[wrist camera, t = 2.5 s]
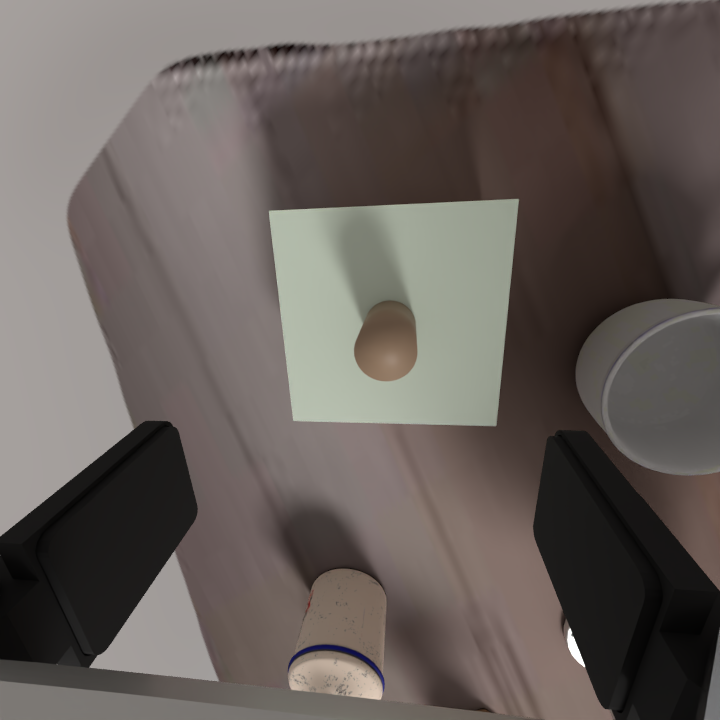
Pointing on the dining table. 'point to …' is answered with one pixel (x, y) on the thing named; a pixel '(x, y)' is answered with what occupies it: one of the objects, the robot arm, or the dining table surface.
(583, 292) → the dining table surface
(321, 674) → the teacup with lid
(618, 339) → the teacup
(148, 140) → the dining table surface
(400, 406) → the lid
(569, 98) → the dining table surface
